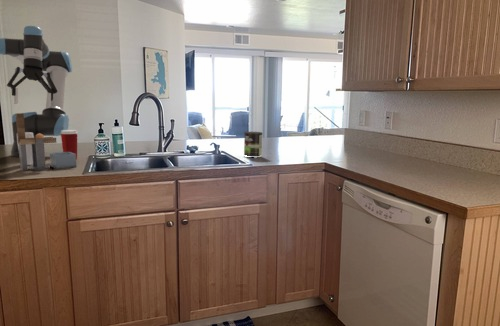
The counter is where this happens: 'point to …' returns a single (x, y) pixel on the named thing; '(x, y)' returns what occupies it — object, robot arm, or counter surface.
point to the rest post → (23, 157)
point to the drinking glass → (28, 148)
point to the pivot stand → (38, 156)
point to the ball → (39, 136)
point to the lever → (21, 132)
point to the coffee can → (253, 143)
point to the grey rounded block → (63, 160)
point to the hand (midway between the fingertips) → (33, 105)
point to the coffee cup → (69, 141)
